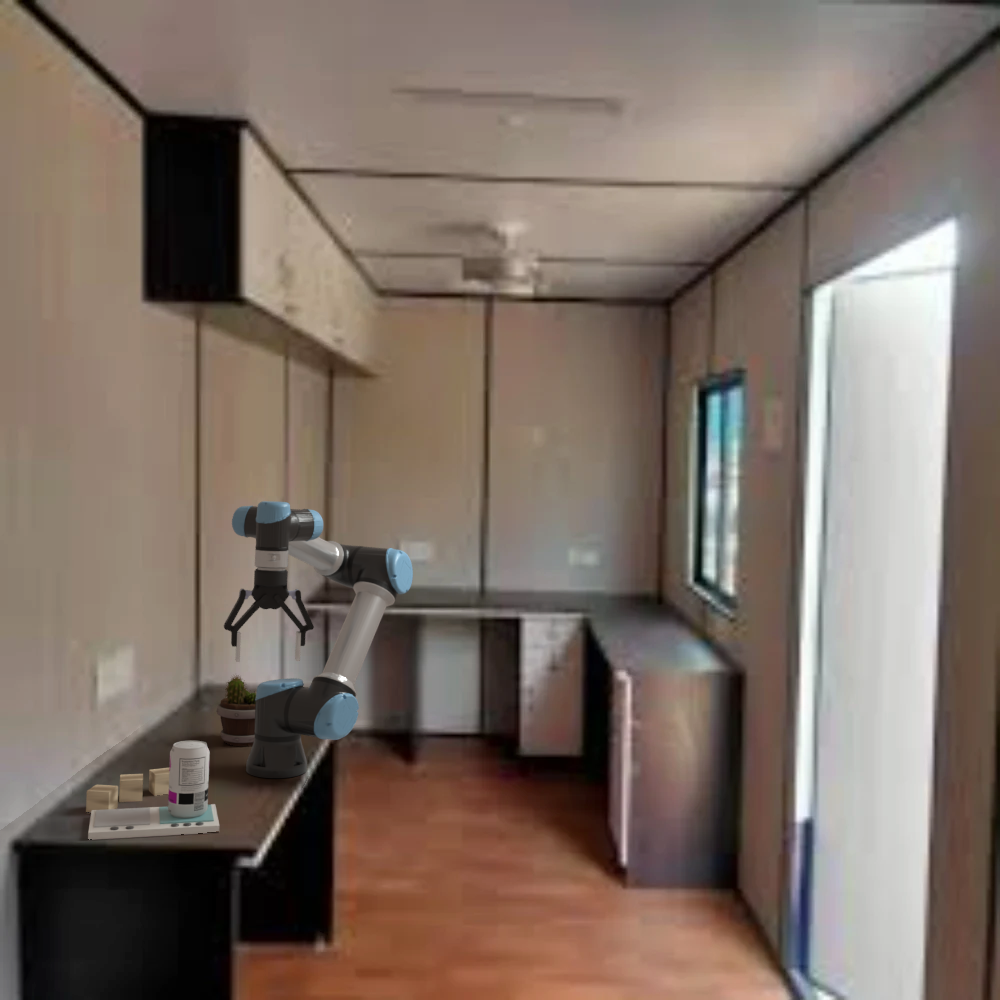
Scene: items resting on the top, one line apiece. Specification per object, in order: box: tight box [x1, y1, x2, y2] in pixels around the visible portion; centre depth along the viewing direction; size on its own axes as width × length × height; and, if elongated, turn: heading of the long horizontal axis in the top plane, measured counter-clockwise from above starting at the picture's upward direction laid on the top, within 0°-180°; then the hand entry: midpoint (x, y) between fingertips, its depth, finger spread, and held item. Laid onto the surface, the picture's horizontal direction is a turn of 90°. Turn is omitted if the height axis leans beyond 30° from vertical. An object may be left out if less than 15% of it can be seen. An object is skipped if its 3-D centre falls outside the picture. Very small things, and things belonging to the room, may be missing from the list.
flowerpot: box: [216, 674, 257, 747], centre depth 311 cm, size 14×15×20 cm
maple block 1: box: [85, 784, 119, 813], centre depth 247 cm, size 5×5×5 cm
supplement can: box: [167, 739, 211, 818], centre depth 242 cm, size 8×8×15 cm
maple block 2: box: [118, 773, 144, 803], centre depth 256 cm, size 5×5×5 cm
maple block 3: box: [148, 767, 169, 797], centre depth 262 cm, size 5×5×5 cm
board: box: [87, 803, 220, 841], centre depth 239 cm, size 15×26×2 cm, turn 108°
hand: (267, 660), depth 258 cm, fingers open, 13 cm apart
